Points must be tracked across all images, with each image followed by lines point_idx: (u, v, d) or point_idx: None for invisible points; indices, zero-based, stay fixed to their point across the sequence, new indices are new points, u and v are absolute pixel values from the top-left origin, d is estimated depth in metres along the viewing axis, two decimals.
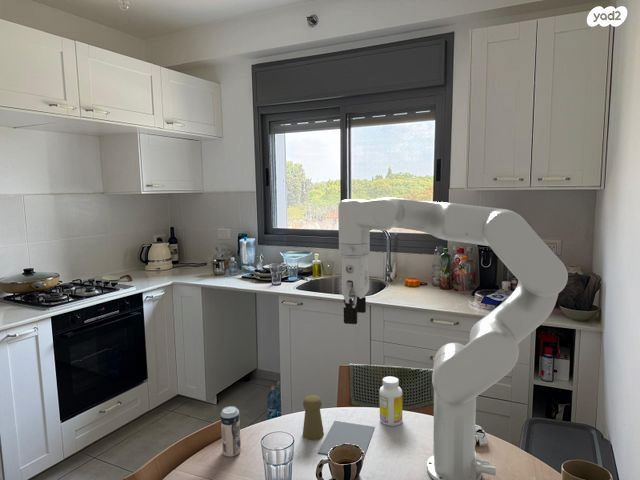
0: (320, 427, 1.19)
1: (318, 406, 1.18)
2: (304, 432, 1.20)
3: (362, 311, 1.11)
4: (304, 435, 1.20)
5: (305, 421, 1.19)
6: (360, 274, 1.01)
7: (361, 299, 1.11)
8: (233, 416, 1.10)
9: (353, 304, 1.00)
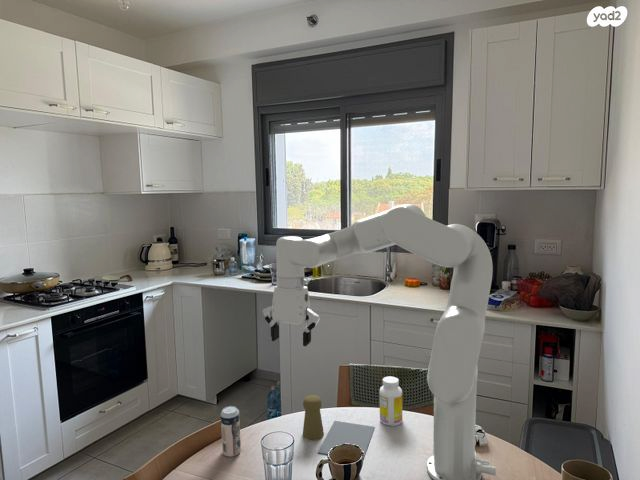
0: (320, 427, 1.19)
1: (318, 406, 1.18)
2: (304, 432, 1.20)
3: (278, 337, 1.22)
4: (304, 435, 1.20)
5: (305, 421, 1.19)
6: None
7: (277, 326, 1.21)
8: (233, 416, 1.10)
9: None
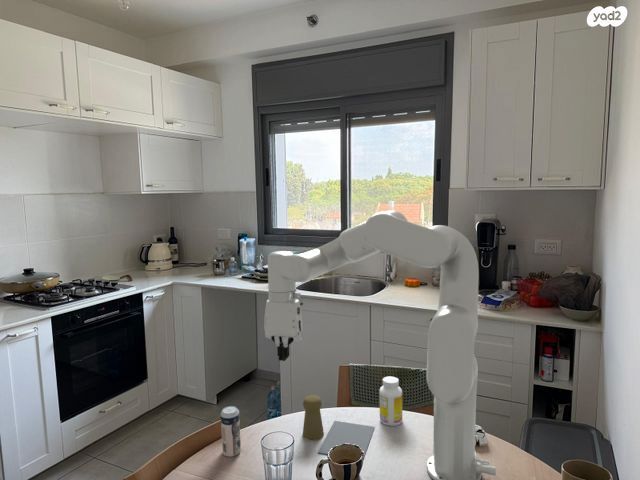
0: (320, 427, 1.19)
1: (318, 406, 1.18)
2: (304, 432, 1.20)
3: None
4: (304, 435, 1.20)
5: (305, 421, 1.19)
6: None
7: None
8: (233, 416, 1.10)
9: None
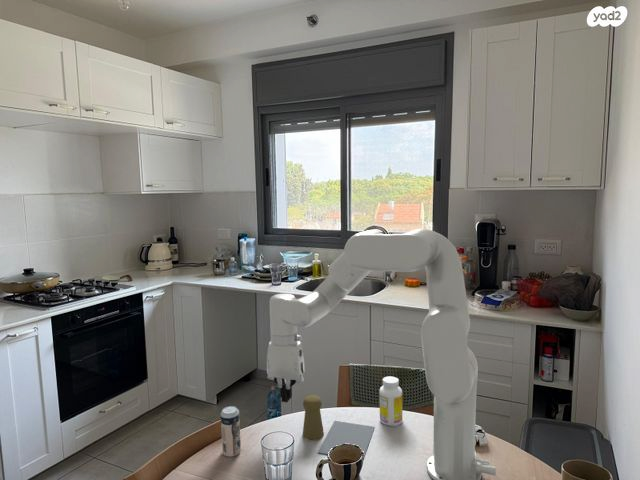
0: (320, 427, 1.19)
1: (318, 406, 1.18)
2: (304, 432, 1.20)
3: None
4: (304, 435, 1.20)
5: (305, 421, 1.19)
6: None
7: (286, 387, 1.23)
8: (233, 416, 1.10)
9: None
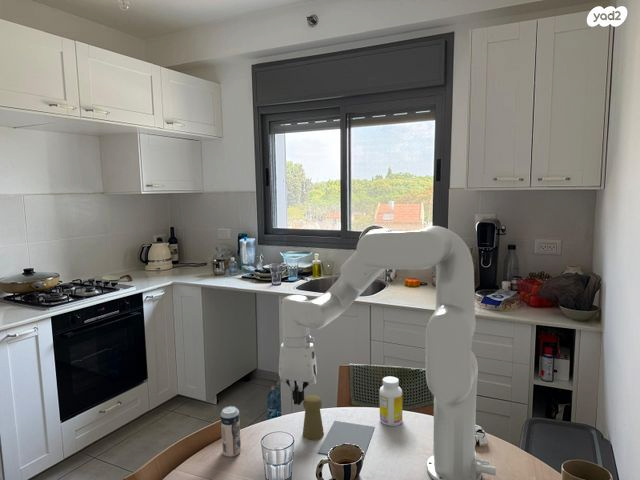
0: (320, 427, 1.19)
1: (318, 406, 1.18)
2: (304, 432, 1.20)
3: None
4: (304, 435, 1.20)
5: (305, 421, 1.19)
6: None
7: None
8: (233, 416, 1.10)
9: None
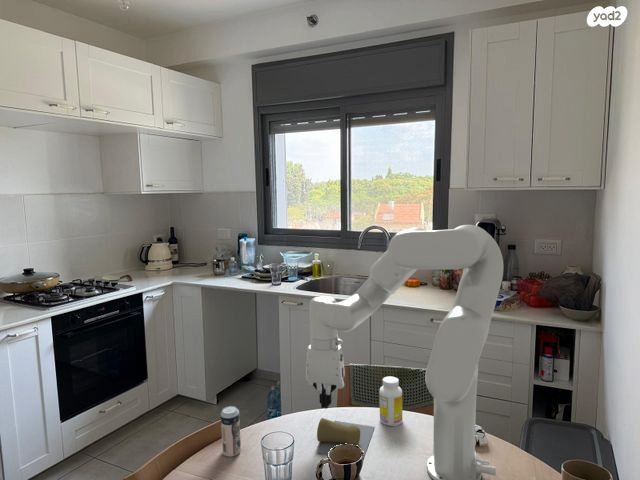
0: None
1: None
2: (322, 435, 1.15)
3: None
4: (319, 435, 1.15)
5: (333, 437, 1.14)
6: None
7: None
8: (233, 416, 1.10)
9: None
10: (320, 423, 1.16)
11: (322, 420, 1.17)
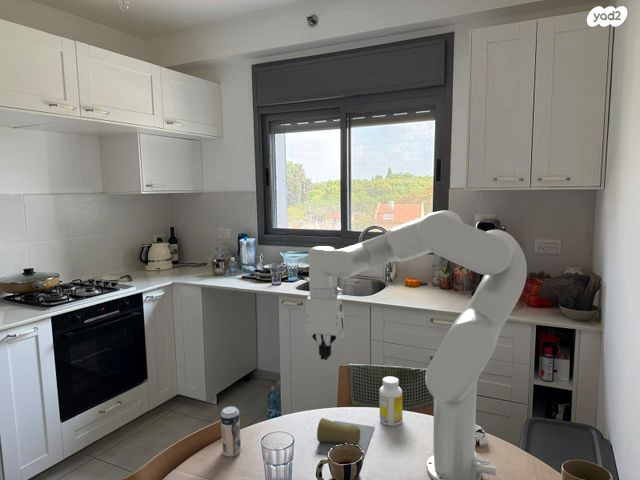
0: None
1: None
2: (322, 435, 1.15)
3: None
4: (319, 435, 1.15)
5: (333, 437, 1.14)
6: None
7: None
8: (233, 416, 1.10)
9: None
10: (320, 423, 1.16)
11: (322, 420, 1.17)
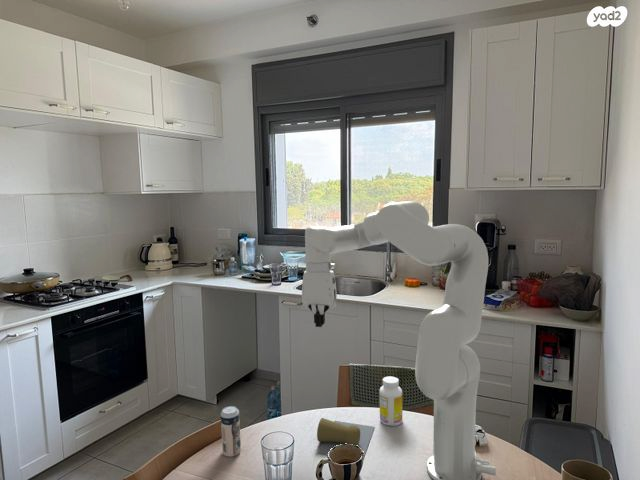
0: None
1: None
2: (322, 435, 1.15)
3: None
4: (319, 435, 1.15)
5: (333, 437, 1.14)
6: None
7: None
8: (233, 416, 1.10)
9: None
10: (320, 423, 1.16)
11: (322, 420, 1.17)
